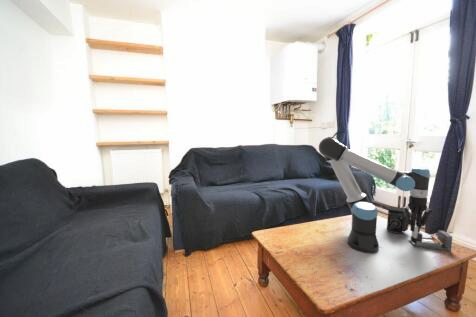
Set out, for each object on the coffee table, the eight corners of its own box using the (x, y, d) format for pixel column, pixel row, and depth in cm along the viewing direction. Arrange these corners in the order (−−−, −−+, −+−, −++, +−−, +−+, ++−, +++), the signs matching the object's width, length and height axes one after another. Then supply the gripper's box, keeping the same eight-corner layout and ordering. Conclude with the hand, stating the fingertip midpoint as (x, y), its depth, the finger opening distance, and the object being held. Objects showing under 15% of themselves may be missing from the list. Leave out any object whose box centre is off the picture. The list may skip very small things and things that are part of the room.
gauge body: (414, 247, 116) (416, 233, 115) (408, 240, 122) (409, 227, 121) (450, 251, 111) (452, 236, 110) (442, 244, 118) (443, 230, 117)
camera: (407, 237, 127) (409, 213, 125) (386, 232, 133) (388, 209, 131) (407, 230, 135) (409, 208, 133) (387, 226, 141) (388, 204, 140)
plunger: (417, 243, 117) (418, 233, 116) (413, 240, 120) (414, 231, 119) (434, 245, 114) (435, 235, 114) (430, 242, 118) (431, 232, 117)
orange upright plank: (437, 247, 113) (438, 241, 112) (429, 241, 119) (430, 235, 119) (441, 247, 112) (441, 241, 112) (433, 241, 119) (433, 235, 119)
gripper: (407, 197, 113) (403, 238, 116) (437, 199, 110) (432, 241, 113) (401, 193, 121) (397, 232, 124) (428, 194, 117) (424, 235, 120)
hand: (414, 236), depth 118 cm, fingers closed
